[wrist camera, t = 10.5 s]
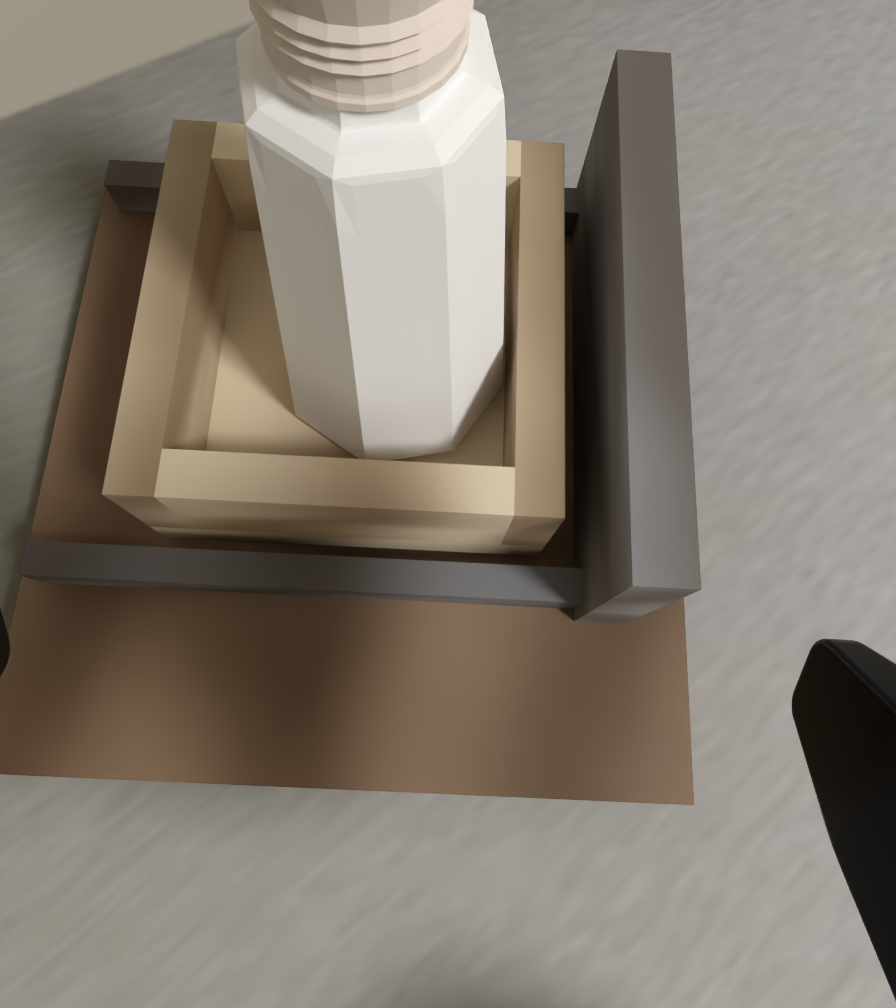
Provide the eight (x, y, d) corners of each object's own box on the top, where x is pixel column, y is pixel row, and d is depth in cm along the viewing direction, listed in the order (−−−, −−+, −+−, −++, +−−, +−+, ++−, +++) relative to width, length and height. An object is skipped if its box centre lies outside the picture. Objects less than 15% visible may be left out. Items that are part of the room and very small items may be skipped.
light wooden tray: (164, 537, 17) (101, 494, 14) (216, 220, 20) (173, 119, 16) (537, 556, 17) (564, 518, 14) (540, 240, 20) (564, 143, 16)
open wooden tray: (4, 769, 17) (-217, 800, 11) (122, 200, 21) (11, 10, 16) (678, 799, 17) (809, 844, 11) (653, 232, 22) (737, 57, 16)
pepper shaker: (243, 331, 18) (-26, -239, 7) (430, 235, 19) (438, -393, 8) (354, 510, 16) (228, 146, 6) (547, 398, 17) (738, -88, 7)
